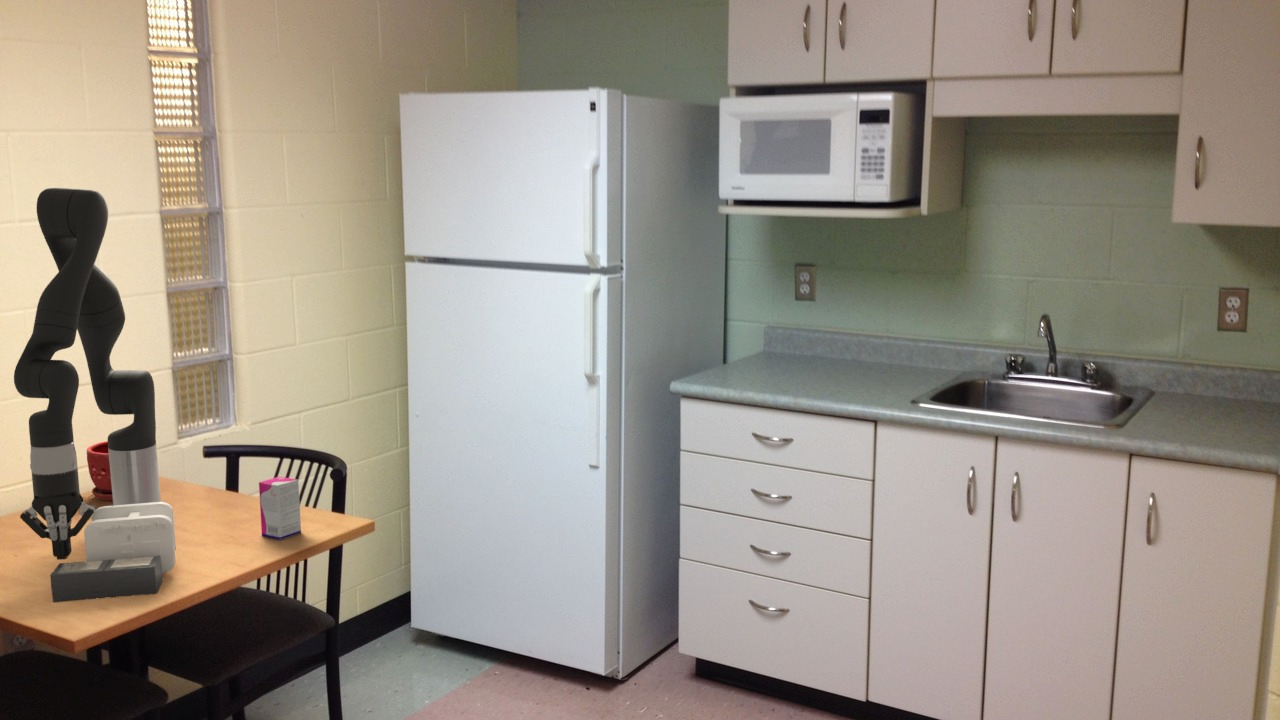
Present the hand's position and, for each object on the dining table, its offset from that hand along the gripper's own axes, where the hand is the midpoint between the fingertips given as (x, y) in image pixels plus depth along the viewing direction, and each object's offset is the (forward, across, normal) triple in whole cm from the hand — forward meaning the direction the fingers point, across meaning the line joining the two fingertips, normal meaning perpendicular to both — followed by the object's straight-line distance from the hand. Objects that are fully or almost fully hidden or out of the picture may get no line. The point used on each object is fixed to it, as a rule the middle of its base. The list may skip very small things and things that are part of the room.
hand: (62, 558), depth 211 cm
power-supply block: (+4, -10, +10) cm, 15 cm away
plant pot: (+4, +1, -54) cm, 54 cm away
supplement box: (+4, -37, -16) cm, 41 cm away
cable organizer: (+4, -12, 0) cm, 13 cm away
